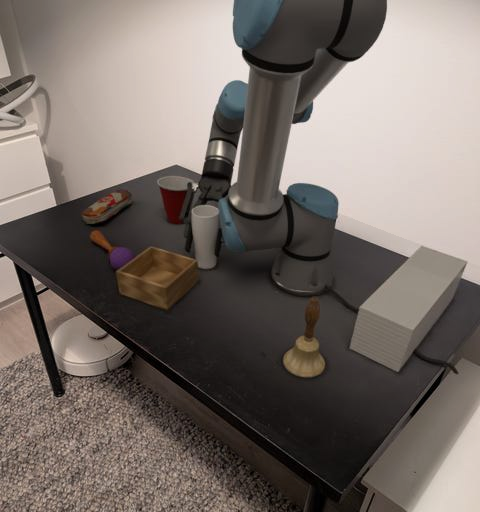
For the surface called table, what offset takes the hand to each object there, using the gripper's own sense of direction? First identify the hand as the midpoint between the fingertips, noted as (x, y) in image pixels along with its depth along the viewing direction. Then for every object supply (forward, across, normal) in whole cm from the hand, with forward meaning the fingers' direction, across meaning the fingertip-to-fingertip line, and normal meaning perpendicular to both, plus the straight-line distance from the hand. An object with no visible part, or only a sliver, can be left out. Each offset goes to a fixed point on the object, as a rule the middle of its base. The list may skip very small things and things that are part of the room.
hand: (201, 253), depth 111 cm
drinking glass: (+2, 0, -6) cm, 7 cm away
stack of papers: (+9, -49, +1) cm, 50 cm away
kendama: (+4, +24, -4) cm, 25 cm away
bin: (+10, +8, +3) cm, 13 cm away
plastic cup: (-14, +15, -22) cm, 30 cm away
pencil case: (-13, +36, -21) cm, 44 cm away
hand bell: (+23, -29, +15) cm, 39 cm away
